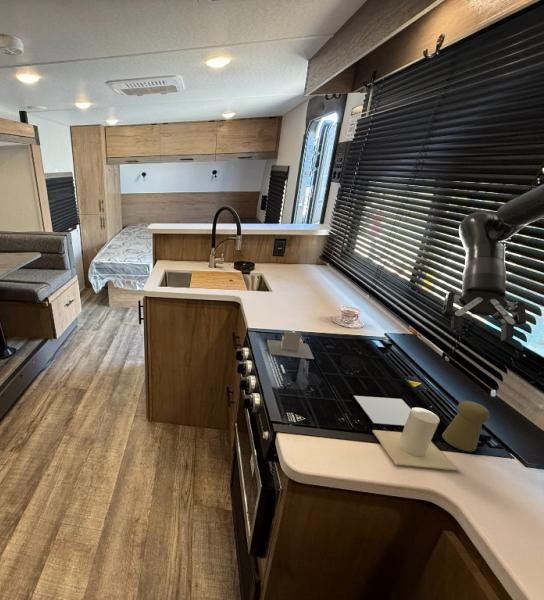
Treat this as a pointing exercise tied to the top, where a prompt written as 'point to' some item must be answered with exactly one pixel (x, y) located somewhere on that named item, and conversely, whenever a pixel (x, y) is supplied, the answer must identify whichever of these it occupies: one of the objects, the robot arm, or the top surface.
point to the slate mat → (384, 410)
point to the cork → (466, 426)
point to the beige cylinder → (418, 431)
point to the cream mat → (401, 457)
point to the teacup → (349, 317)
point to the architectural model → (290, 346)
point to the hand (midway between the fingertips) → (480, 335)
